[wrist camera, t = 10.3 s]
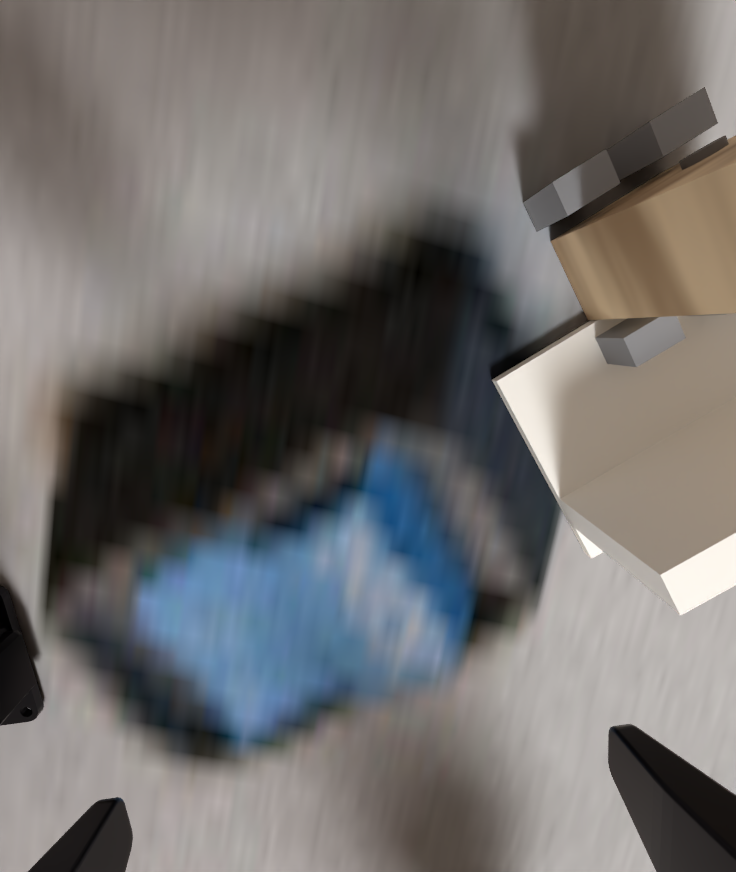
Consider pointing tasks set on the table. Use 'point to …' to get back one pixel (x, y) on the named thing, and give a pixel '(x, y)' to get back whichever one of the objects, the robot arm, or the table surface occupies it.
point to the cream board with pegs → (638, 408)
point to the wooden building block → (661, 244)
